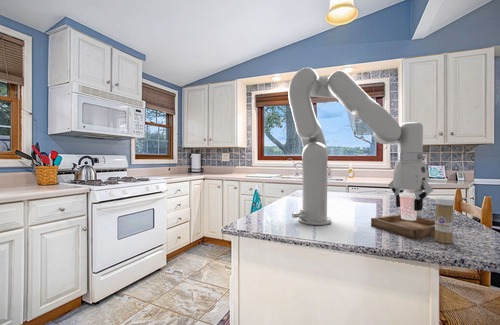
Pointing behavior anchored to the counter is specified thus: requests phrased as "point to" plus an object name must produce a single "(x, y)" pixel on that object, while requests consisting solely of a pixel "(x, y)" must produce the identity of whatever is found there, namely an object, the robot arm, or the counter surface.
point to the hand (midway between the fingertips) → (408, 208)
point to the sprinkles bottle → (444, 219)
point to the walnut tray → (405, 226)
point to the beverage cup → (407, 206)
